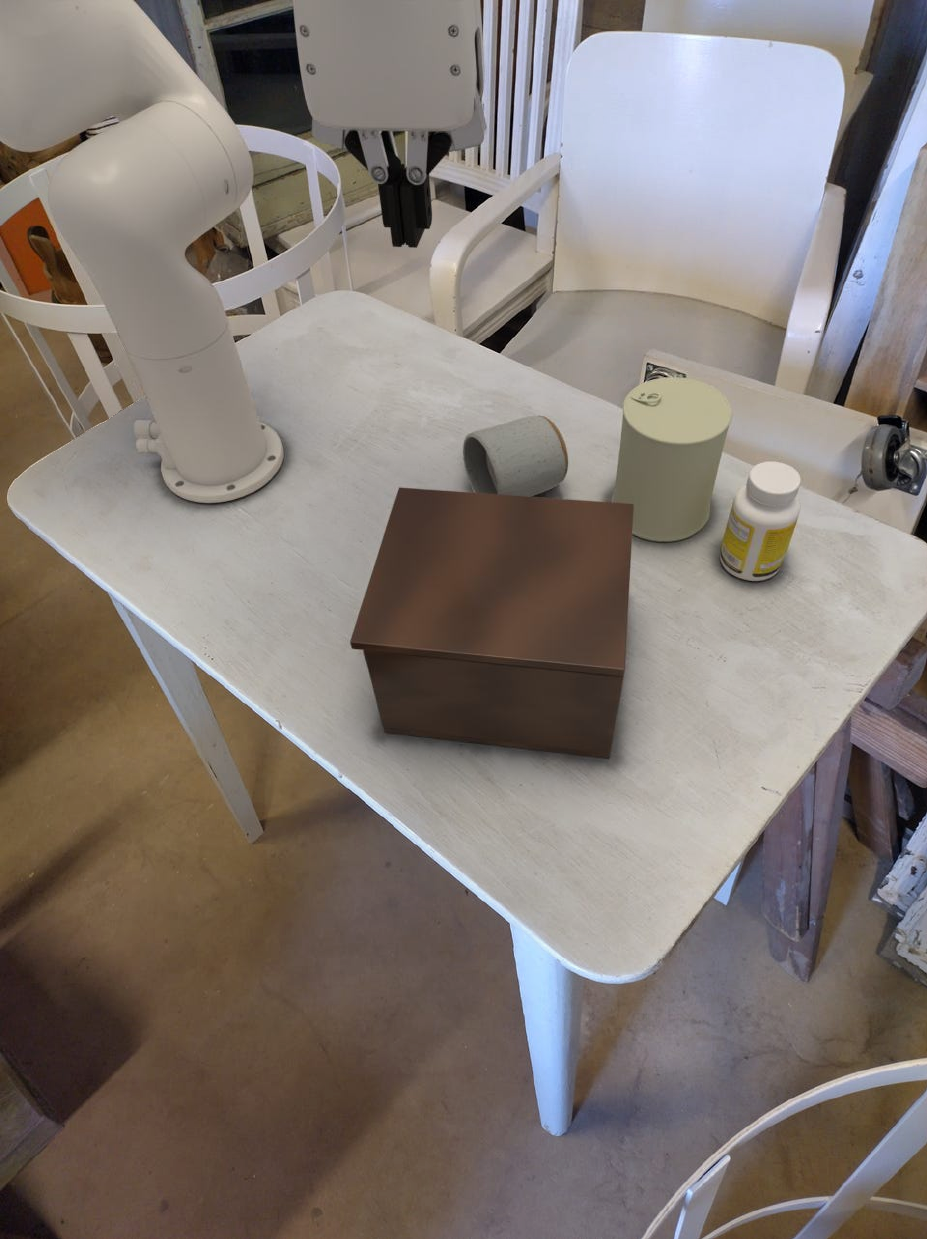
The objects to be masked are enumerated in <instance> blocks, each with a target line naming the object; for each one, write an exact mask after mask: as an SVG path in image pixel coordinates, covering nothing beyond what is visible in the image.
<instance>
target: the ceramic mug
mask: <svg viewBox="0 0 927 1239" xmlns="http://www.w3.org/2000/svg"><path fill="white" fill-rule="evenodd" d="M462 457H463V464H464V469H465V472H466V476H467V479H468V482H469V485H470V487H471V489H472V492H473V493H485V494H500V495H514V496H528V497H535V496H537V495H540V494H543V493H544V492H547V491H549V490H552V489H553V488H555V487H557V486H558V485H559V484H561V483H562V482H563V481H564V480H565V478H566V475H567V473H568V469H569V454H568V449H567V445H566V442H565V440H564V437H563V435H562V433H561V431H560V429H559V428H558V426H557V425H556V423H554V422H553V421H552V420H551V419H549V418H547V417H546V416H543V415H532V416H525V417H521V418H518V419H514V420H511V421H509V422H505V423H501V424H497V425H494V426H490V427H486V428H483V429H478V430H475V431H472V432H469V433H468V434H467V435H466V436H465V438H464V440H463V444H462Z"/></svg>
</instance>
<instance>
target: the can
mask: <svg viewBox="0 0 927 1239" xmlns="http://www.w3.org/2000/svg"><path fill="white" fill-rule="evenodd" d="M732 420H733V408H732V405H731V403H730V401H729V400H728V398H727V397H726V396H725V394H723V392H722V391H720V390H719V389H717V388H716V387H714V386H712V385H710V384H708V383H706V382H704V381H700V380H698V379H692V378H688V377H680V376H679V377H678V376H677V377H676V376H667V377H659V378H654V379H651V380H646V381H645V382H642V383H640V384H638V385H637V386H635V387H634V388H633V389H631V391H629V392H628V393H627V395H626V396H625V398H624V400H623V403H622V419H621V430H620V440H619V450H618V459H617V466H616V474H615V485H614V490H613V494H612V497H611V502H613V503H627V504H633V505H634V509H633V527H632V536H635V537H638V538H640V539H643V540H646V541H651V542H657V543H658V542H659V543H660V542H661V543H671V542H678V541H681V540H685V539H688V538H690V537H692V536H694V535H696V534H698V532H700V531H701V530H702V529H703V528H704V526H706V524H707V523H708V520H709V517H710V512H711V508H710V506H711V501H712V500H711V499H712V496H713V492H714V487H715V483H716V480H717V476H718V472H719V466H720V463H721V459H722V455H723V451H724V447H725V443H726V439H727V435H728V432H729V429H730V425H731V423H732Z"/></svg>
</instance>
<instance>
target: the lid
mask: <svg viewBox="0 0 927 1239" xmlns="http://www.w3.org/2000/svg"><path fill="white" fill-rule="evenodd" d="M633 509H634V505H633V504H627V503H613V502H610V501H596V500H584V499H583V500H582V499H570V498H556V497H555V498H553V497H541V496H531V497H528V496H514V495H500V494H485V493H474V492H471V491H456V490H443V489H442V490H441V489H428V488H414V487H413V488H412V487H398V488H397V492H396V496H395V498H394V501H393V505H392V508H391V511H390V515H389V518H388V521H387V524H386V526H385V530H384V533H383V536H382V540H381V543H380V546H379V549H378V552H377V556H376V559H375V562H374V565H373V568H372V570H371V573H370V577H369V581H368V584H367V587H366V590H365V593H364V597H363V600H362V603H361V606H360V609H359V613H358V615H357V618H356V622H355V625H354V628H353V632H352V634H351V637H350V639H349V644H350V647H351V649H352V650H360V651H363V650H368V651H378V652H388V653H398V654H407V655H417V656H427V657H437V658H447V659H456V660H466V661H476V662H486V663H496V664H506V665H515V666H525V667H535V668H545V669H555V670H564V671H574V672H584V673H594V674H604V675H614V676H624V677H625V671H626V658H627V657H626V655H627V640H628V639H627V637H628V635H627V634H628V620H629V619H628V618H629V600H630V582H631V581H630V580H631V561H632V545H633V544H632V543H633V534H632V527H633Z"/></svg>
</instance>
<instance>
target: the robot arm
mask: <svg viewBox="0 0 927 1239" xmlns="http://www.w3.org/2000/svg"><path fill="white" fill-rule="evenodd" d="M292 7H293V17H294V18H293V19H294V28H295V36H296V37H295V38H296V46H297V55H298V63H299V70H300V75H301V82H302V88H303V93H304V97H305V102H306V105H307V109H308V111H309V114H310V116H311V136H312V138H313V140H315V141H316V142H318V143H320V144H324V145H326V146H331V147H334V148H337V149H341V150H343V149H345V150H346V151H347V152H349V153H350V154H351V155H352V156H353V157H354V158H355V159H356V160H357V161H358V162H359V163H360V164H361V166H363V168H365V169H366V170H367V172H368V175H369V178H370V179H371V180H372V182H374V183H375V184H377V187H378V196H379V202H380V210H381V219H382V225H383V227H384V228H390V229H389V230H390V236H391V238H390V239H391V245H392V247H393V248H402V246H407V247H408V248H414V249H417V248H418V246H419V244H420V242H421V239H422V237H423V235H424V232H425V230H429V229H430V228H431V226H432V222H433V208H432V196H431V182H430V180H431V179H430V174H431V173H432V171H433V170H435V168H436V167H437V166H438V165H439V163H440V162H441V161H443V159H444V158H445V157H446V155H447V154H448V153H452V152H459V151H463V150H467V149H470V148H471V149H472V148H475V147H479V146H480V145H482V144H483V143H484V141H485V138H486V135H487V132H488V125H487V122H486V118H485V114H484V113H485V112H484V110H483V105H482V102H481V99H482V98H483V95H484V90H485V78H486V74H485V72H486V69H485V48H484V37H483V35H484V34H483V24H482V23H483V22H482V10H481V9H482V8H481V0H292ZM111 117H114V118H115V119H117V120H118V121H119V122H118V123H115V124H114V125H112V126H110V127H107V128H106V129H104V130H102V131H101V132H99V133H97V134H95V135H93V136H91V137H90V138H88V139H86V140H85V141H83V142H81V143H79V144H78V145H76V146H74V148H72V149H71V150H70V151H69V152H68V153H66V154H65V155H64V157H63V156H62V158H61V159H60V161H59V162H58V163H57V164H56V166H55V167H54V169H53V171H52V173H51V175H50V177H49V181H48V186H47V203H48V208H49V211H50V214H51V216H52V219H53V221H54V223H55V225H56V227H57V229H58V231H59V233H60V234H61V236H62V238H63V239H64V240H65V242H66V244H67V245H68V247H69V248H70V250H71V251H72V253H73V254H74V256H75V257H76V258H77V260H78V262H79V263H80V265H81V267H82V268H83V270H84V271H85V272H86V274H87V276H88V278H89V279H90V281H91V283H92V284H93V286H94V287H95V289H96V291H97V293H98V295H99V297H100V298H101V301H102V303H103V305H104V306H105V308H106V309H105V310H106V311H107V313H108V315H109V318H110V319H111V321H112V324H113V327H114V329H115V331H116V333H117V335H118V338H119V340H120V342H121V344H122V347H123V348H124V351H125V353H126V355H127V357H128V360H129V362H130V365H131V367H132V369H133V371H134V374H135V377H136V378H137V381H138V383H139V386H140V388H141V390H142V392H143V395H144V397H145V399H146V402H147V404H148V406H149V408H150V411H151V413H152V415H153V418H154V420H151V419H150V420H149V419H148V420H147V419H136V420H135V421H134V423H133V434H134V436H135V437H136V438H137V439H136V441H135V449H136V450H137V452H139V453H140V452H141V453H157V454H158V455H159V456H160V457H161V459H162V460H161V464H160V471H161V475H162V478H163V480H164V482H165V484H166V486H167V487H168V488H169V490H170V491H171V492H172V493H173V494H175V495H176V496H178V497H180V498H182V499H184V500H185V501H190V502H195V503H201V504H203V503H204V504H216V503H223V502H229V501H234V500H237V499H241V498H243V497H246V496H248V495H250V494H252V493H254V492H255V491H257V490H259V489H261V488H262V487H264V486H265V485H266V484H267V483H269V482H270V480H272V479H273V478H274V476H275V475H276V474H277V473H278V472H279V470H280V468H281V466H282V464H283V461H284V455H285V454H284V446H283V443H282V439H281V438H280V436H279V434H278V433H277V431H276V430H274V428H273V427H271V426H269V425H268V424H266V423H264V422H261V421H260V419H259V415H258V412H257V409H256V405H255V402H254V399H253V397H252V392H251V390H250V386H249V383H248V380H247V377H246V374H245V371H244V367H243V364H242V360H241V357H240V354H239V351H238V348H237V344H236V342H235V339H234V335H233V332H232V329H231V325H230V322H229V319H228V316H227V313H226V310H225V307H224V303H223V301H222V298H221V296H220V294H219V292H218V290H217V289H216V287H215V286H214V284H213V283H212V282H211V281H210V280H209V279H208V278H207V277H206V276H205V275H203V274H202V273H201V272H200V271H198V269H196V268H194V267H193V266H192V265H191V264H190V263H189V261H188V260H187V257H186V250H187V249H188V247H189V246H190V245H192V244H193V243H194V242H195V241H196V240H198V239H199V238H200V237H201V236H202V235H204V234H205V233H206V232H209V230H211V229H212V228H213V227H215V226H217V225H218V224H220V223H221V222H222V221H223V220H226V218H228V217H229V216H230V215H232V214H233V213H234V212H236V211H237V210H238V209H239V208H240V207H241V206H242V205H243V204H244V203H245V202H246V200H247V199H248V197H249V196H250V194H251V190H252V188H253V184H254V167H253V166H254V165H253V160H252V157H251V156H252V155H251V153H250V150H249V148H248V145H247V143H246V141H245V138H244V137H243V135H242V133H241V132H240V129H239V128H238V127H237V125H236V123H235V122H234V120H233V119H232V118H231V116H230V115H229V113H228V112H227V111H226V109H225V108H224V107H223V106H222V104H221V103H220V102H219V101H218V100H217V98H216V97H215V96H214V94H213V93H212V92H211V91H210V89H209V88H208V87H207V86H206V85H205V84H204V82H203V81H202V80H201V78H199V76H198V75H197V74H196V72H194V70H193V69H192V68H191V67H190V65H189V64H188V63H187V62H186V61H185V59H184V58H183V57H182V55H181V54H180V53H179V52H178V50H177V49H176V48H175V47H174V46H173V45H172V44H171V43H170V41H169V40H168V38H166V36H165V35H164V34H163V32H162V31H161V30H160V29H159V28H158V26H157V25H156V24H155V23H154V22H153V21H152V19H151V18H150V17H149V16H148V14H146V12H145V11H144V10H143V9H142V7H140V5H139V4H138V3H137V2H136V1H135V0H0V142H1V143H2V144H4V145H5V146H6V147H8V148H10V149H13V150H15V151H18V152H24V153H35V152H36V153H37V152H41V151H45V150H47V149H50V148H53V147H56V146H57V145H60V144H61V143H64V142H65V141H67V140H70V139H72V138H73V137H75V136H77V135H79V134H82V133H83V132H85V131H87V130H88V129H89V130H90V128H92V127H94V126H96V125H98V124H100V123H102V122H103V121H106V120H108V119H109V118H111ZM394 132H407V149H406V150H407V151H406V154H407V155H406V166H405V163H402V160H401V159H400V158H399V153H398V149H397V146H396V145H397V144H396V141H395V136H394V134H393V133H394Z"/></svg>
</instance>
